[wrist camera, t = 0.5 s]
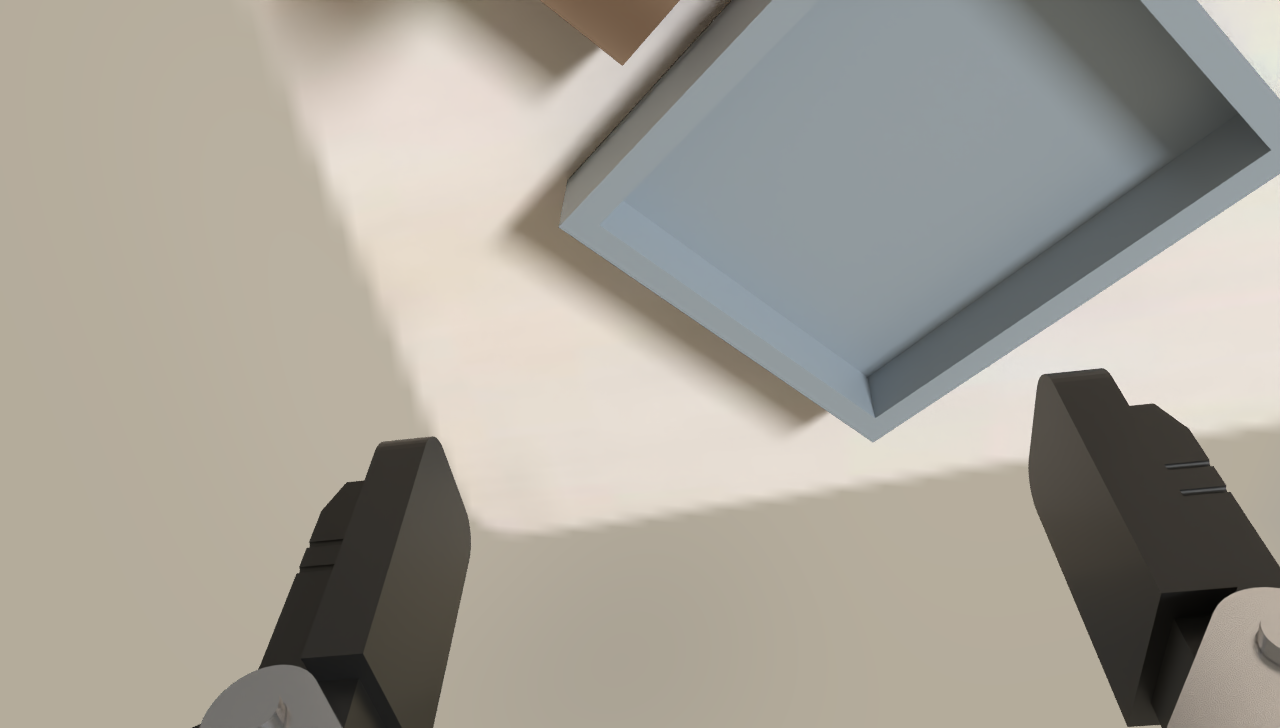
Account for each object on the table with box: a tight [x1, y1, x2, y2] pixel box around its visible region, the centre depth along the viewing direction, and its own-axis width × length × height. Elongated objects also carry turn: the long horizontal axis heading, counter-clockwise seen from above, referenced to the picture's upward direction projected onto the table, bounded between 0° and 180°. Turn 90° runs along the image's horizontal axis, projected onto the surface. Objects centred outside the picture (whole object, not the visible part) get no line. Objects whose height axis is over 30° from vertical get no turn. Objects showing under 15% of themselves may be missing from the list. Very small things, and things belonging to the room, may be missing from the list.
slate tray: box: [559, 0, 1280, 442], centre depth 33 cm, size 18×16×3 cm
